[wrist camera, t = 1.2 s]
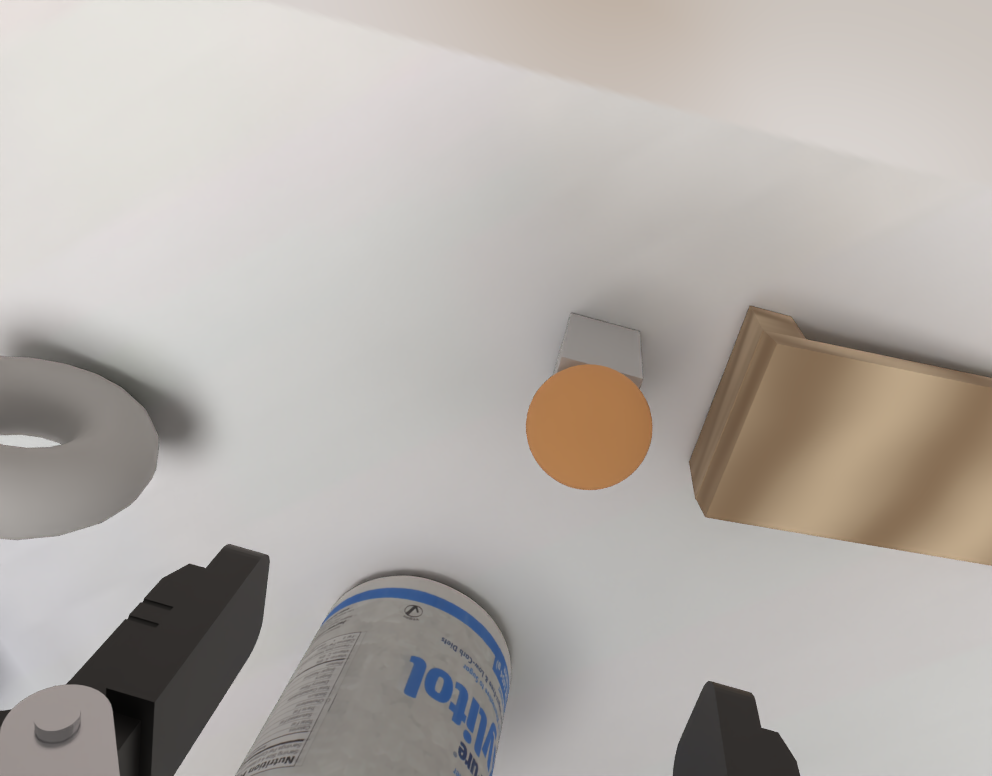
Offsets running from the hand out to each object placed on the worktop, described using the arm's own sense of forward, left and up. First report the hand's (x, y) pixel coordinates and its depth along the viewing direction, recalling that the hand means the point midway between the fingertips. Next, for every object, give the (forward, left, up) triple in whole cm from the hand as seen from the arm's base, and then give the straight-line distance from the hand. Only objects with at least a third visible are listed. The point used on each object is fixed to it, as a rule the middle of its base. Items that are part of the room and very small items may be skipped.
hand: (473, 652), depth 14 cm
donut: (-2, +21, -19) cm, 28 cm away
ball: (-1, -2, -14) cm, 14 cm away
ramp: (-5, -13, -19) cm, 23 cm away
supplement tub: (-16, +8, -19) cm, 26 cm away
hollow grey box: (-1, -2, -19) cm, 19 cm away
